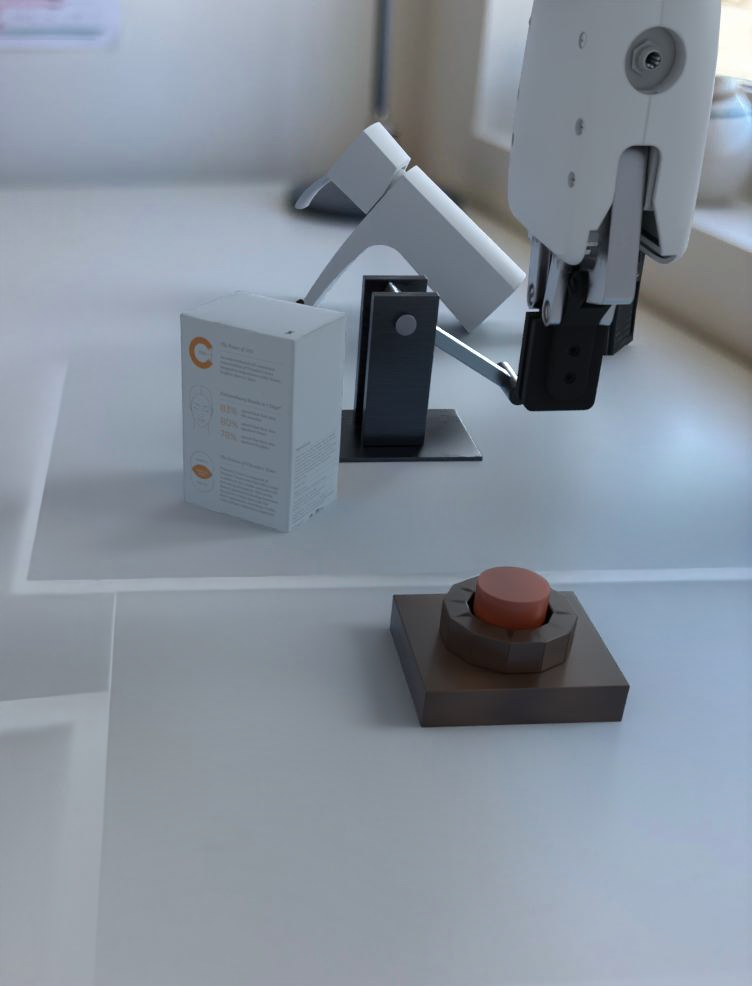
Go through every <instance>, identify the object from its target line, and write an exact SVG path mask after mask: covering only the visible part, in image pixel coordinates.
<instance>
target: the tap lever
mask: <svg viewBox="0 0 752 986" xmlns="http://www.w3.org/2000/svg"><path fill="white" fill-rule="evenodd" d="M383 292H404V291H403V290H401V289H400V288H398V287H396V286H395V285H393V284H392V283H390V282H389V283H388V285H387V286H386V288H385V289H384V291H383ZM370 312H371V310H370ZM434 347H436V348H438V349H439V350H441V351H443V352H444V353H446V354H448V355H449V356H450V357H452V358H454V359H455V360H457V361H459V362H460V363H462V364H464V365H465V366H466V367H468V368H469V369H471V370H473V371H474V372H476V373H478V374H479V375H481V376H482V377H484V378H485V379H487V380H489V381H490V382H492V383H493V384H495V385H496V386H498V387H499V388H500V389H501V391H502V393H504V395H505V396H506V398H507V399H508V401H509V402H510V403H511V404H512V405H513V406H523V404H522V401H520V399H519V398H518V397H517V395H516V393H515V389H516V382H517V374H518V373H516V371H515V370H514V369H513V367H512V366H511V365H510V363H508V362H506V361H500V362H497V363H495V362H493V361H492V360H490V359H489V358H487V357H486V356H484V355H482V354H481V353H479V352H478V351H476V350H474V348H472V347H470V346H468V345H467V344H465V343H464V342H462V341H461V340H459V339H457V338H456V337H454V336H453V335H451V334H450V333H448V332H446V331H445V330H444V329H442V328H440V327H439V326H437V328H436V337H435V346H434Z"/></svg>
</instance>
